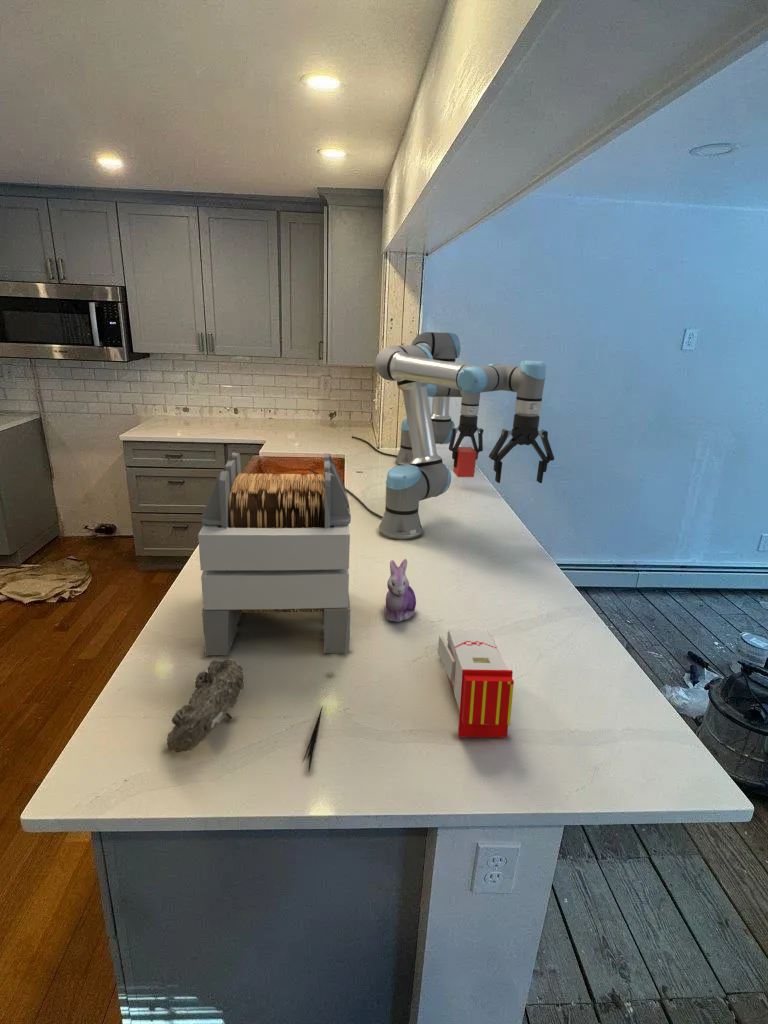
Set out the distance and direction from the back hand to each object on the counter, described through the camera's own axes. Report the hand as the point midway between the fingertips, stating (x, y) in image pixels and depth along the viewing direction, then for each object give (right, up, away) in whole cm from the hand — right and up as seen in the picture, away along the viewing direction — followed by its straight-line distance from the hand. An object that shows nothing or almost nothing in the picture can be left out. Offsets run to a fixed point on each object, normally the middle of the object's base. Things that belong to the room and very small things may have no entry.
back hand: (463, 466), depth 250 cm
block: (0, -3, +1) cm, 4 cm away
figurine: (-31, -47, -103) cm, 117 cm away
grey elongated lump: (-68, -59, -142) cm, 168 cm away
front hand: (+7, -11, -72) cm, 74 cm away
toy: (-17, -58, -132) cm, 145 cm away
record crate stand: (-61, -47, -107) cm, 132 cm away
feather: (-48, -60, -141) cm, 161 cm away
